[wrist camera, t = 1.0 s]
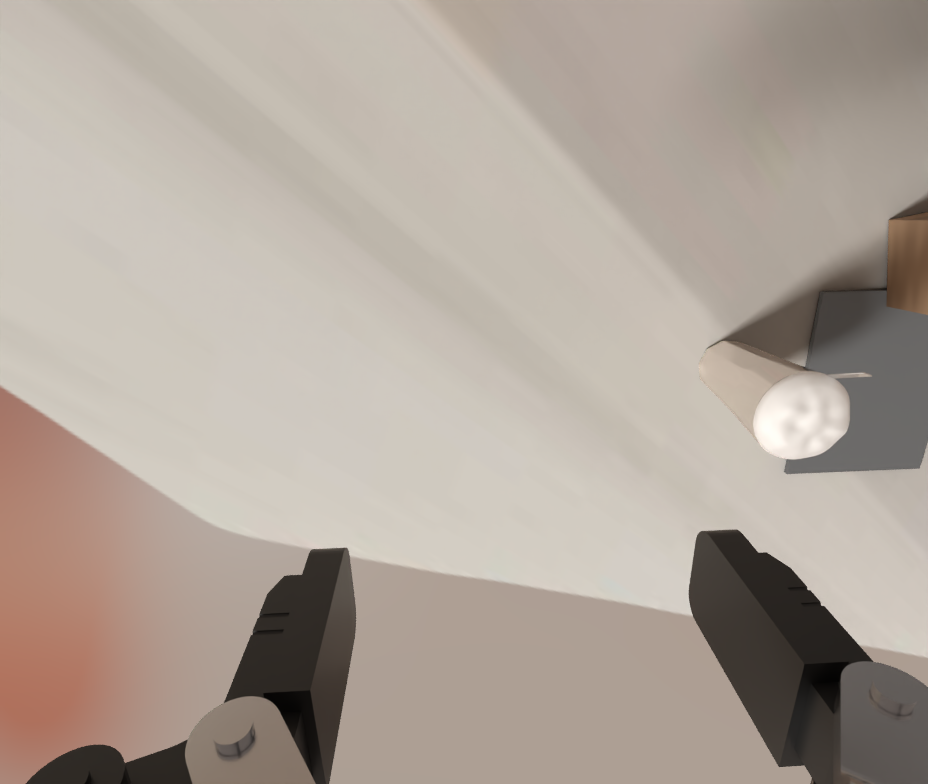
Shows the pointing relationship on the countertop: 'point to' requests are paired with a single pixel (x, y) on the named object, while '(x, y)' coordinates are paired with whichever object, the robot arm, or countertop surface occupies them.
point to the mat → (872, 381)
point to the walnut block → (908, 263)
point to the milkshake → (778, 399)
